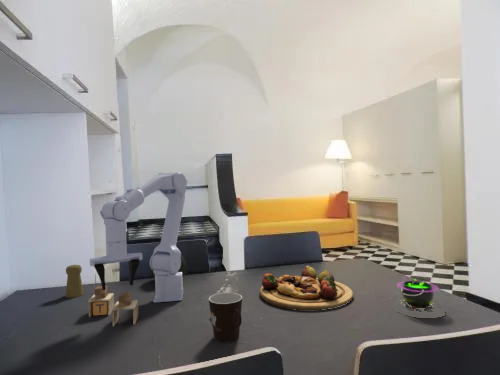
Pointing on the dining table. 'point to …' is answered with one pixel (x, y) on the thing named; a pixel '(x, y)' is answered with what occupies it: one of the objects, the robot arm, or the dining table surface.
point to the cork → (74, 281)
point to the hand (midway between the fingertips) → (117, 286)
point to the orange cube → (100, 308)
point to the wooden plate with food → (305, 291)
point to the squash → (182, 269)
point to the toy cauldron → (417, 295)
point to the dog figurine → (229, 284)
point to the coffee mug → (226, 316)
